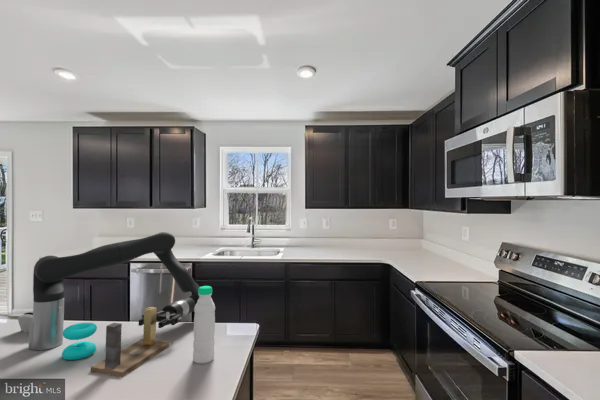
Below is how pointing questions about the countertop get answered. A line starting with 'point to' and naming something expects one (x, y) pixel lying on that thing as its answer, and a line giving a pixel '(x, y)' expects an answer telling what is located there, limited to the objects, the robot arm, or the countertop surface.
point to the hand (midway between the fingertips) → (149, 324)
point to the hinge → (25, 321)
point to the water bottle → (204, 326)
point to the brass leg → (149, 326)
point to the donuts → (79, 348)
